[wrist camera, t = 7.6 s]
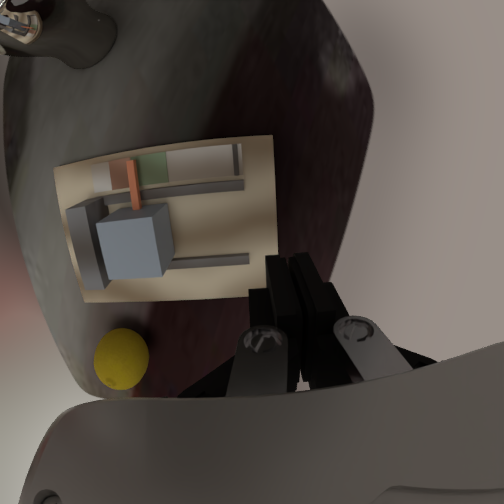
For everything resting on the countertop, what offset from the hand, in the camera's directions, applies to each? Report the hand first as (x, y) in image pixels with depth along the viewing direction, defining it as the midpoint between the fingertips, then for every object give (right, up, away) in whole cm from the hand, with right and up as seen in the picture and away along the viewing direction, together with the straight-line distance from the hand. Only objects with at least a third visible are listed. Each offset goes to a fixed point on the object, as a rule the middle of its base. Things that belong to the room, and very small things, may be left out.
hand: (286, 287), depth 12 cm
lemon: (-15, -8, +18) cm, 25 cm away
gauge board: (-9, +4, +14) cm, 17 cm away
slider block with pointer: (-11, +5, +12) cm, 16 cm away
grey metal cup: (-16, +21, +7) cm, 28 cm away
